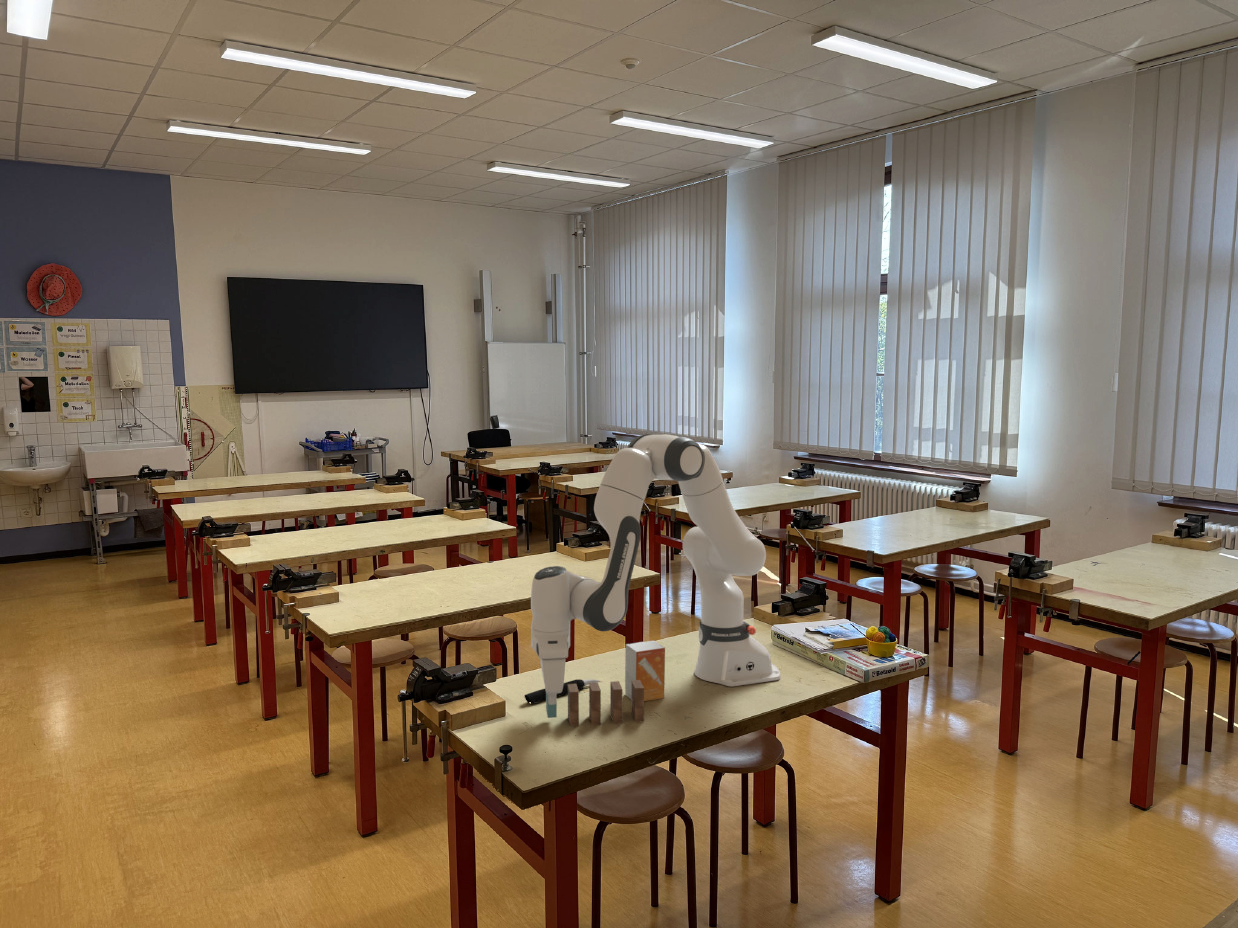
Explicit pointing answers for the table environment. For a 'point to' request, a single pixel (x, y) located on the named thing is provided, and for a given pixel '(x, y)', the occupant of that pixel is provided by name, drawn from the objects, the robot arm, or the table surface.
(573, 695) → the domino
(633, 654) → the small box
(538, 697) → the utility knife
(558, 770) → the table surface
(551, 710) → the domino
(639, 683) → the domino
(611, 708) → the domino
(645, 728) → the table surface
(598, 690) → the domino
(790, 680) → the table surface
